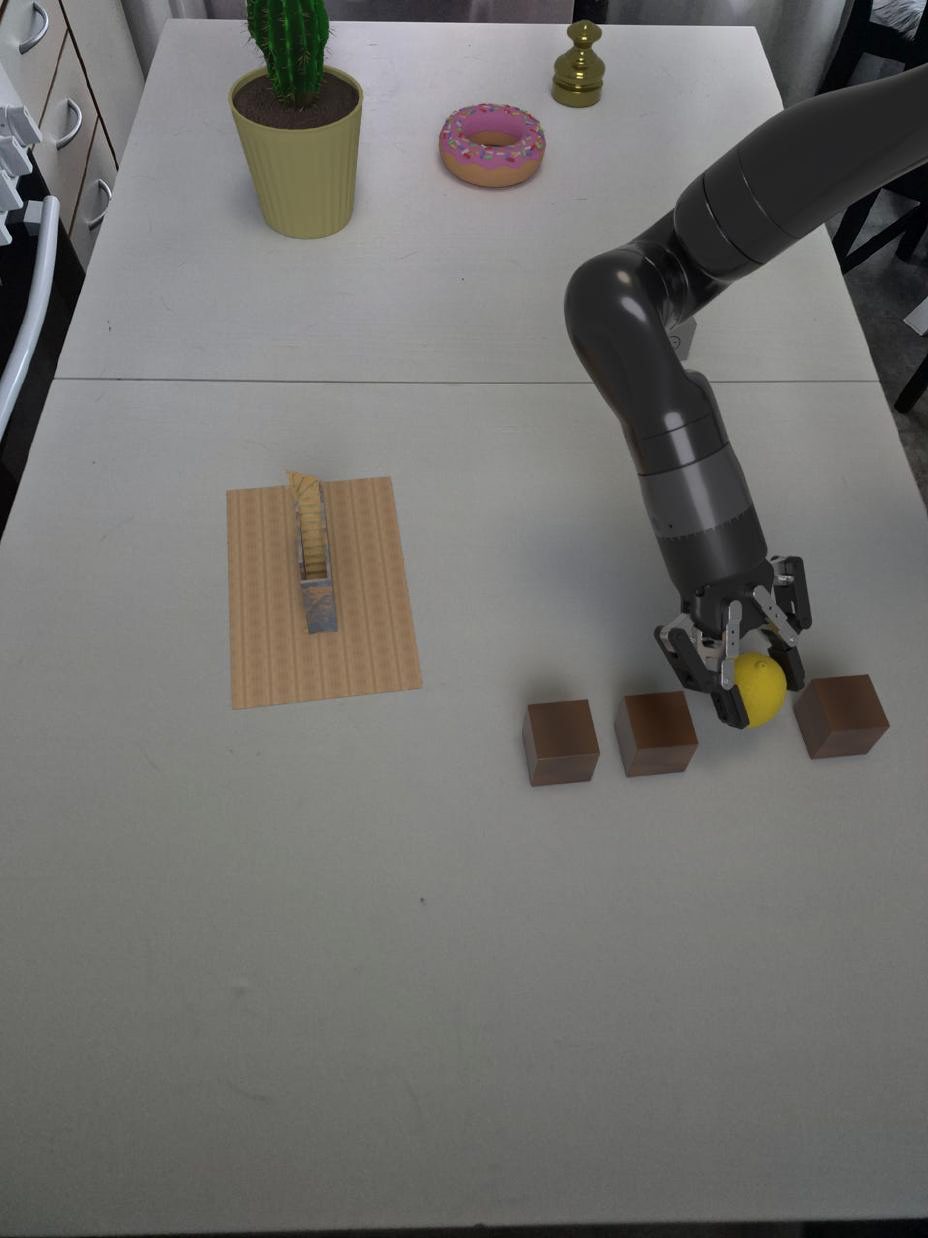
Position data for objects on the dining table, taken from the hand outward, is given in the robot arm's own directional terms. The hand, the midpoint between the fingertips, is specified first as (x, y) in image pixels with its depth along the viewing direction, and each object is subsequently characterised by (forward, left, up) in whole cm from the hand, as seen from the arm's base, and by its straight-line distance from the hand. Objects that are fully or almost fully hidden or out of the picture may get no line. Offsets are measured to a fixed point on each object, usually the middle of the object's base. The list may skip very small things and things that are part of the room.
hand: (766, 706), depth 77 cm
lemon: (+1, -2, -4) cm, 5 cm away
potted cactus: (+34, -79, -7) cm, 87 cm away
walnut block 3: (-8, 0, -6) cm, 10 cm away
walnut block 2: (+8, 0, -6) cm, 10 cm away
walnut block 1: (+16, 0, -6) cm, 17 cm away
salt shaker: (-6, -106, -7) cm, 107 cm away
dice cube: (-5, -50, -7) cm, 51 cm away
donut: (+9, -89, -7) cm, 90 cm away
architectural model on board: (+35, -20, -7) cm, 41 cm away
